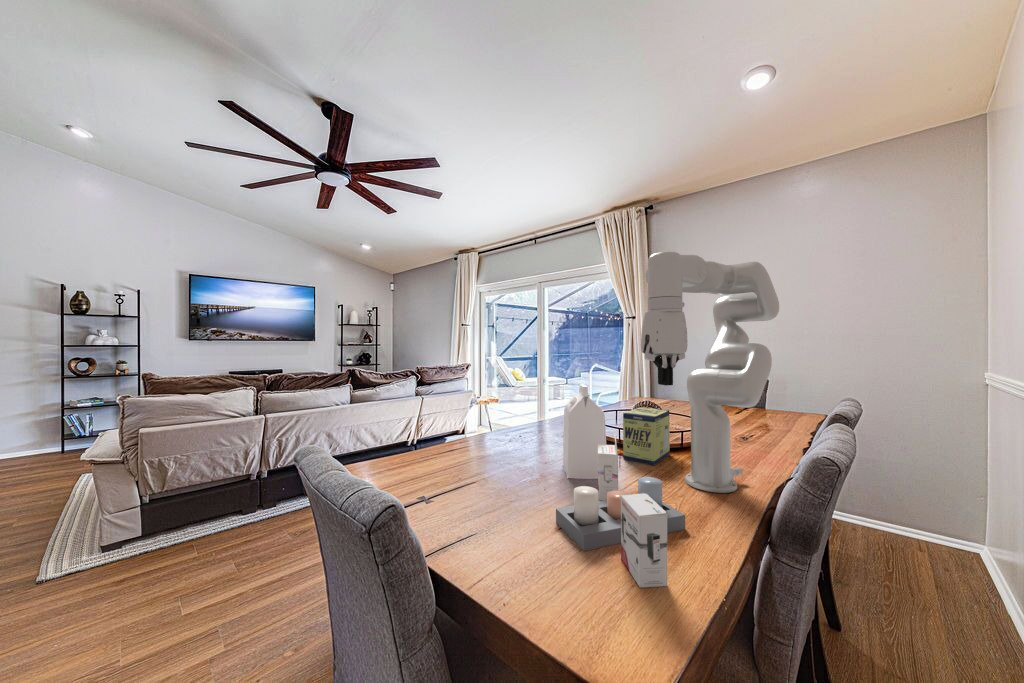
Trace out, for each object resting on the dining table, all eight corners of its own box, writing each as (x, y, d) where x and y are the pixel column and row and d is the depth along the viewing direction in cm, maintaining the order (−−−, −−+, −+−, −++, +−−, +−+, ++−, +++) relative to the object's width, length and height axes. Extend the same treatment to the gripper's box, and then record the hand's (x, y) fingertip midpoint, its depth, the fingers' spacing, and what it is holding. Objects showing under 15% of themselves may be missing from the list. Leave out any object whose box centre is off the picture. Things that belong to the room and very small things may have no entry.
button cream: (590, 512, 81) (590, 484, 81) (603, 523, 76) (603, 493, 76) (569, 516, 79) (569, 488, 79) (581, 527, 74) (581, 497, 74)
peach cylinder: (622, 516, 83) (621, 489, 83) (636, 526, 79) (636, 498, 79) (602, 519, 82) (602, 492, 82) (616, 530, 77) (615, 501, 77)
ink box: (619, 557, 68) (619, 493, 68) (645, 556, 69) (645, 492, 69) (639, 589, 60) (639, 515, 60) (669, 587, 60) (668, 513, 60)
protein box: (622, 459, 125) (622, 412, 125) (640, 449, 137) (640, 406, 136) (654, 466, 118) (654, 416, 118) (670, 454, 130) (670, 409, 130)
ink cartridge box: (597, 487, 101) (596, 432, 101) (616, 488, 100) (616, 433, 100) (598, 500, 93) (597, 441, 93) (618, 502, 92) (618, 441, 92)
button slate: (651, 502, 86) (651, 475, 86) (667, 511, 81) (667, 483, 81) (633, 505, 84) (633, 478, 84) (648, 514, 80) (648, 486, 80)
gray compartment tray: (647, 505, 90) (646, 493, 90) (685, 529, 78) (685, 514, 78) (555, 522, 82) (555, 508, 82) (583, 551, 71) (583, 535, 71)
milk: (608, 478, 108) (607, 387, 108) (567, 478, 108) (567, 388, 108) (598, 464, 120) (598, 383, 120) (562, 465, 120) (562, 383, 120)
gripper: (678, 308, 94) (678, 381, 94) (627, 307, 89) (628, 384, 89) (702, 305, 87) (703, 385, 87) (649, 303, 82) (649, 388, 82)
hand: (665, 384), depth 88 cm, fingers closed
